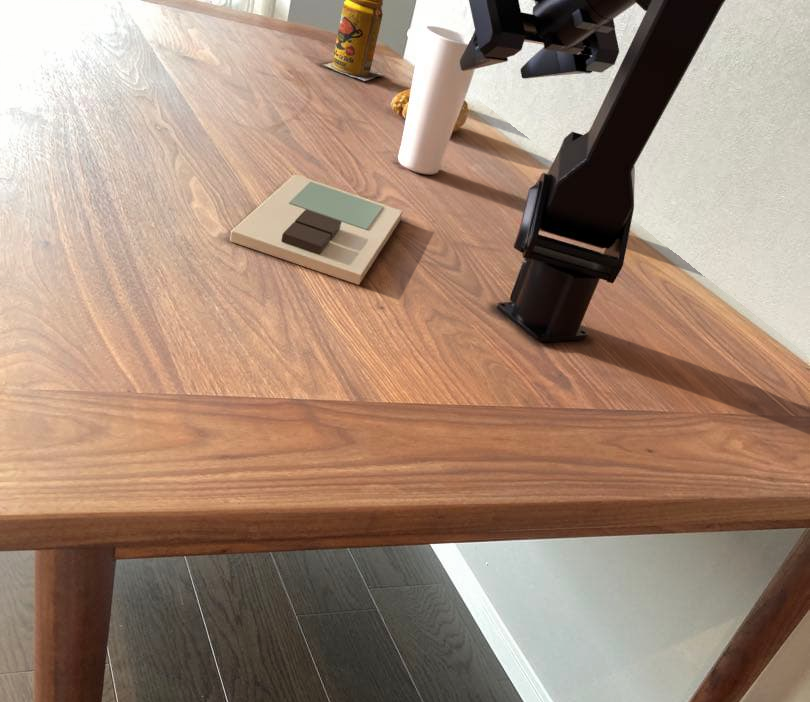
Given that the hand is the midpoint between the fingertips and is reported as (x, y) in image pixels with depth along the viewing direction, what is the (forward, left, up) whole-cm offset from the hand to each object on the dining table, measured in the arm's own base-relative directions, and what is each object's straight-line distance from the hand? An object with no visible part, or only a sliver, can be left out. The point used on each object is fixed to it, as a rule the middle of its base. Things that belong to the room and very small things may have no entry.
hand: (492, 70), depth 100 cm
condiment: (+48, -15, -14) cm, 52 cm away
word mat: (-10, +24, -14) cm, 30 cm away
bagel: (+26, -14, -14) cm, 33 cm away
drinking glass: (+8, 0, -14) cm, 16 cm away
